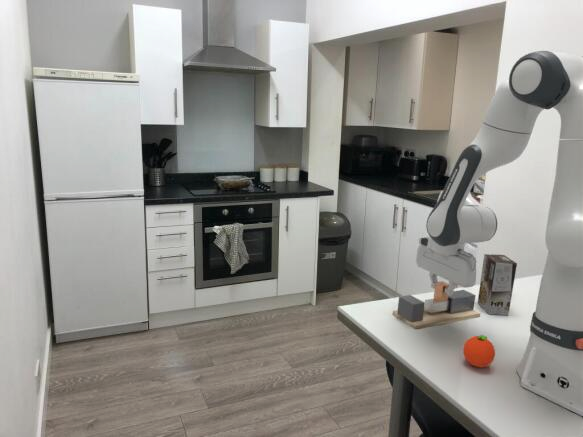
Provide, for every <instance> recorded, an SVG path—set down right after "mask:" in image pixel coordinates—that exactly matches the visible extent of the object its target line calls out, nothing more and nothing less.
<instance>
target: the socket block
mask: <svg viewBox="0 0 583 437" xmlns="http://www.w3.org/2000/svg"><path fill="white" fill-rule="evenodd" d="M424 306H425V301H422V300H420V299H419V298H416V297H415V296H413V295H411V294H406V295H401V296H399V297H398V304H397V310H398V311H397V314H398V315H400V316H402V317H403V318H405V319H406V320H408V321H410V322H417V321H422V320H423V313H424Z"/></svg>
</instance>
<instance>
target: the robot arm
mask: <svg viewBox="0 0 583 437" xmlns="http://www.w3.org/2000/svg"><path fill="white" fill-rule="evenodd" d="M552 108H553V109H555V110H556V111H557V112H558V114H559V117H560V129H559V136H558V137H559V138H558V146H557V156H556V158H557V159H556V166H555V175H554V182H553V187H552V192H551V199H550V202H549V203H550V205H549V209H548V217H547V223H546V228H545V229H546V230H545V236H544V237H545V246H546V249H547V251H548V253H547V256H546V260H545V264H544V268H543V271H542V275H541V279H540V284H539V288H538V295H537V299H536V300H537V301H536V307H535V310H534V312H532V316H531V319H530V324H529V325H530V326H529V332H530V334H529V335H530V336H529V338H528V343H527V344H526V348H525V351H524V353H523V356H522V358H521V360H520V362H519V364H518V365H517V367H516V372H517V374H518V376H519V378H520V381H519V384H520V386H521V387H522V388H524V389H527V391H530V392H532V393H534V394H537V395H539V396H541V397H543V398H545V399H546V400H549V401H551V402H553V403H555V404H557V405H559V406H561V407H562V408H565V409H567V410H569V411H571V412H574V414H575V413H576V414H577V415H579V416H582V417H583V56H581V55H578V54H574V53H571V52H566V51H548V50H537V51H533V52H528V54H527V53H526V54H525V55H523V56H522V57H519V59H518V60H517V61H515V63H514V65H513V66H512V67H511V69H510V72H509V76H508V79H506V80H504V81H503V82H501V83H500V84H499V85H498V88H497V89H496V91H495V93H494V94H493V97H492V98H491V101H490V102H489V104H488V107H487V108H486V112H485V115H484V117H483V121H482V124H481V126H480V129H479V130H478V133H477V134H476V136H475V137H474V139H473V140H472V141H471V143H470V144H469V145H468V146H467V147H465V148H464V149H463V150H462V152H461V153H460V154H459V156H458V158H457V160H456V163H455V164H454V166H453V168H452V171H451V172H450V174H449V178H448V179H447V181H446V183H445V186H444V188H443V190H440V193H439V195H438V198H437V201H436V203H435V205H434V207H433V208H432V210H431V211H430V213H429V215H428V217H427V221H426V225H425V226H426V231H427V233H428V236H427V235H426V236H420V237H419V238H418V244H419V245H418V247H417V252H416V257H415V258H416V259H415V263H416V266H417V267H418V268H421V269H423V270H425V271H427V272H429V273H428V274H429V278H430V281H431V283H430V287H431V288H432V289H434V290H435V283H436V282H439V281H438V277H440V278H442V279H445V280H447V281H448V284H449V285H450V286H449V288H445V294H446V295H448V296H452V295H453V291H455V289H456V288H457V286H460V287H462V288H464V289H465V288H472V287H474V286H475V284H476V281H477V260H476V258H475V256H474V254H473V253H471V252H467V251H466V250H465V245H466V244H473V243H484V242H488V241H490V240H492V238H493V237H494V236H495V235H496V233H497V230H498V218H497V216H496V213H495V212H494V210H492V209H491V208H490V207H488V206H485V205H483V204H481V203H480V202H478V201H477V200H476V199H475V198H474V197H473V196H472V194H471V191H472V188H473V186H474V184H475V183H476V182H477V180H479V178H481V177H482V176H483V175H485V174H486V173H488V172H490V171H492V170H495V169H497V168H500V167H503V166H506V165H508V164H511V163H513V162H514V161H516V160H517V159H518V158H520V156H522V154H523V153H524V151H525V150H526V148H527V146H528V143H529V141H530V138H531V135H532V133H533V130H534V127H535V124H536V121H537V119H538V117H539V115H540V114H541V113H542V112H543V111H544V110H550V109H552Z"/></svg>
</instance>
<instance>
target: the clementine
mask: <svg viewBox="0 0 583 437" xmlns="http://www.w3.org/2000/svg"><path fill="white" fill-rule="evenodd" d="M462 348H463V349H462V351H463V352H462V353H463V358H464V359H465V360H466V362H468V363H469V364H470V365H471V366H473V367H476V368H485V367H487V366H489V365H490V364H492V363H493V361H494V360H495V357H496V350H495V349H496V348H495V346H494V345H493V343H492V342H491V341H490V340H489V339H488V336H486V335H483V334H482V335H476V336H475V335H474V336H472V337H470V338H468V339H467V340H466V341H465V342H464V344H463V347H462Z"/></svg>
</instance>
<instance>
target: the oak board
mask: <svg viewBox="0 0 583 437" xmlns="http://www.w3.org/2000/svg"><path fill="white" fill-rule="evenodd" d="M397 311H398V309H396V310H392V315H393V316H395V317H397V318H398V319H399V320H401V321H402V322H404V323H406V324H407V325H408V326H410V327H412V328H413V329H415V330H417V329H422V328H429V327H432V326H440V325H443V324H448V323H454V322H458V321H464V320H469V319H470V320H471V319H476V318H480V317H481V315H482V314H481V312H479V311H477V310H474V309H473V310H470V311H464V312H459V313H453V314H450V313H448V312H446V311H439V312H434V313H430V312H428V311H427V310H425V309H424V313H423V320H422V321H417V322H410V321H408V320H406V319H405V318H403V317H402V316H400V315H398V314H397Z"/></svg>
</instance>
